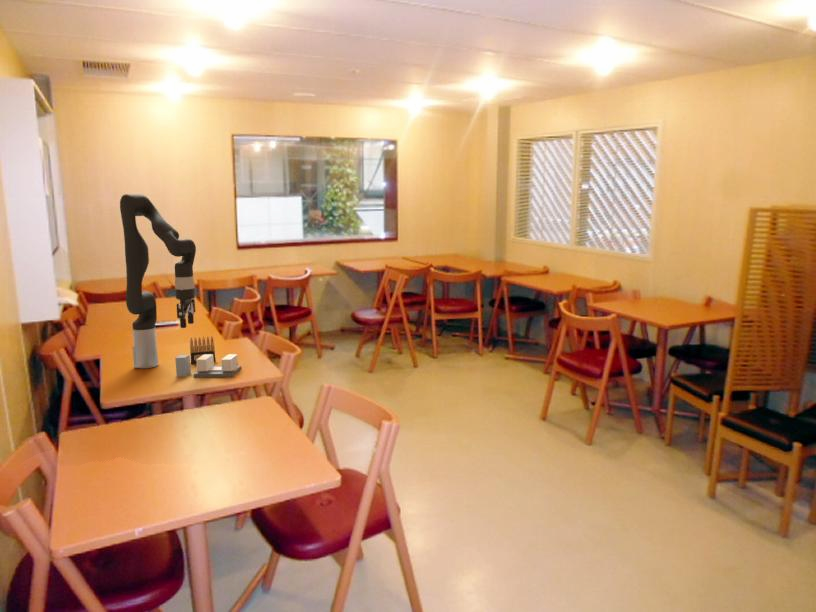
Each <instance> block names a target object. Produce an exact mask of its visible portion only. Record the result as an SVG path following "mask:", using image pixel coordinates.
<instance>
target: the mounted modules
mask: <svg viewBox="0 0 816 612" xmlns="http://www.w3.org/2000/svg"><path fill="white" fill-rule="evenodd" d="M220 361H221V362H220V363H221V366H222V371H232V370H233V369H235V368H236V367H237V366H239V359H238V353H237V354H236V353H232V354H231V353H229V354H227V355H225V356H224V357H222V358H221V360H220ZM196 363H197V364H196V372H197V371H208V370H209V369H210V368H212V367H213V366H215V364H214V363H215V362H214V358H213V354H204V355H202V356H201V357H199V358H198V359H196Z"/></svg>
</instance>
